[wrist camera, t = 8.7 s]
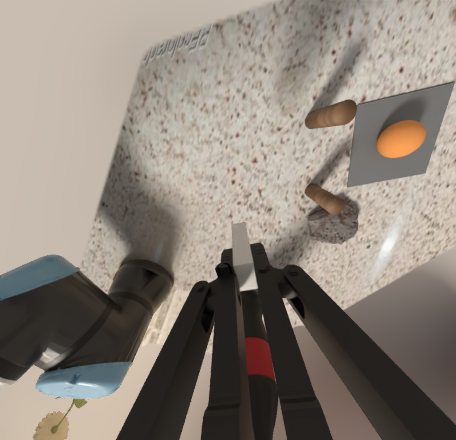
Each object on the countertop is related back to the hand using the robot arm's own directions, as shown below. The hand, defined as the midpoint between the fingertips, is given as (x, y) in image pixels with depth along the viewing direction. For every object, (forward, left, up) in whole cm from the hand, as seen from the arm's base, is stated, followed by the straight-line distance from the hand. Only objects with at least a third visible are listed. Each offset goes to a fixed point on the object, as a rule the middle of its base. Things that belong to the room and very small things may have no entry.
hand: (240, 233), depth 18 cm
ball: (+28, +4, -15) cm, 31 cm away
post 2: (+15, -3, -17) cm, 23 cm away
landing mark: (+29, +3, -17) cm, 34 cm away
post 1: (+15, +10, -17) cm, 25 cm away
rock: (+19, -11, -18) cm, 28 cm away
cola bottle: (-3, -33, -18) cm, 37 cm away
